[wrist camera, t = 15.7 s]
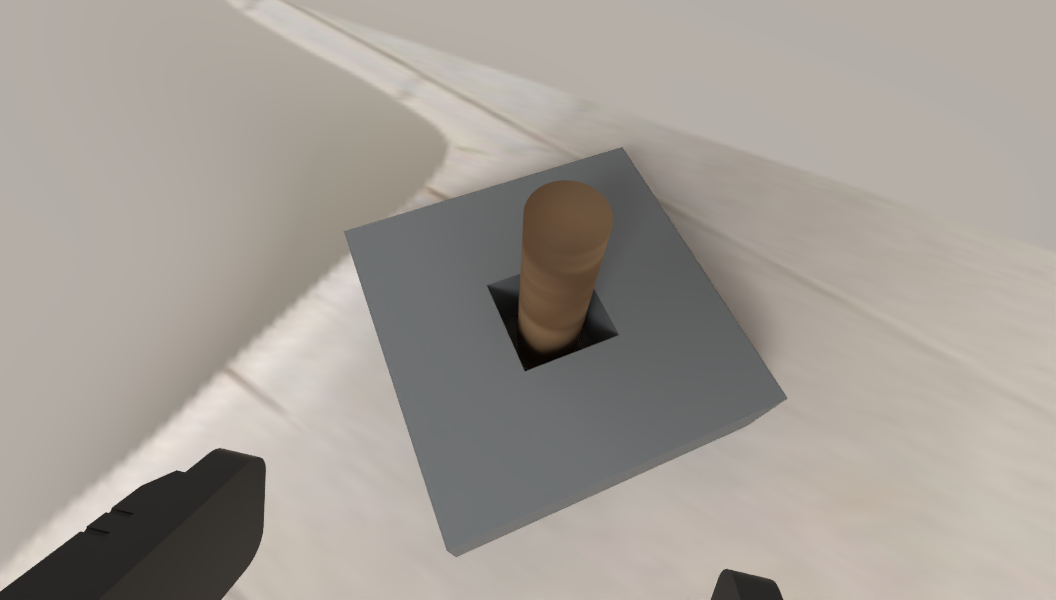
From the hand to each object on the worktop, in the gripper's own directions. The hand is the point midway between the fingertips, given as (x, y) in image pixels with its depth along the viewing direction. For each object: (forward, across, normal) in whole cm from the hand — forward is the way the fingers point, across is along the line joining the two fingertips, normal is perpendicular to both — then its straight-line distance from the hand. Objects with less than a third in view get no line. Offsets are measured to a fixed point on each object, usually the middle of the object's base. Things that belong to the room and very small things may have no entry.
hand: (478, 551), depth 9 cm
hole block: (+20, 0, +4) cm, 21 cm away
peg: (+20, 0, +4) cm, 21 cm away
